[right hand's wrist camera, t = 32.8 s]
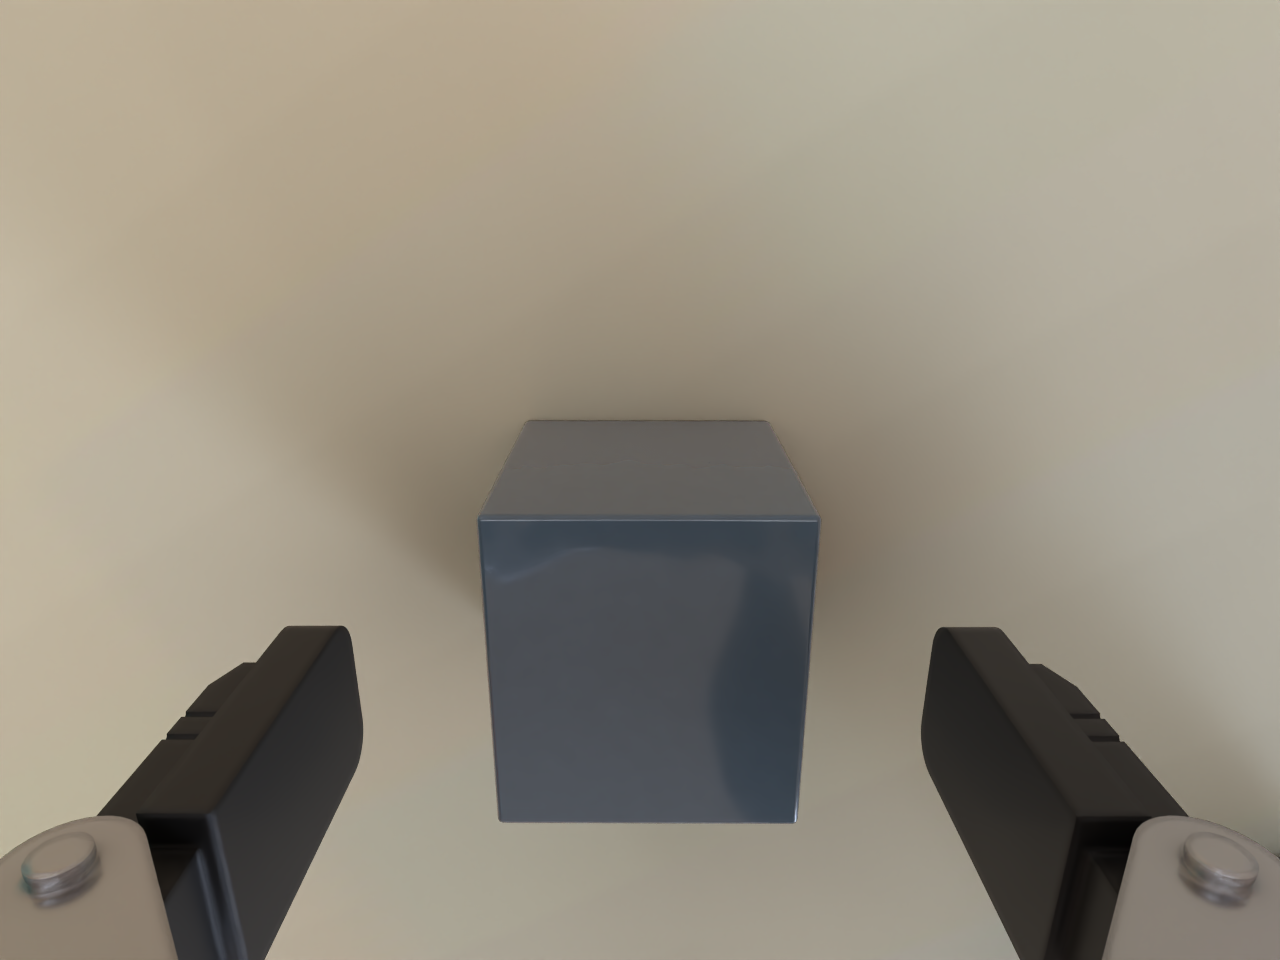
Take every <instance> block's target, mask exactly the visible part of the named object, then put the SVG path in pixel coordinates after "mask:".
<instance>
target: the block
mask: <svg viewBox="0 0 1280 960" xmlns="http://www.w3.org/2000/svg"><path fill="white" fill-rule="evenodd" d="M476 520H477V534H478V548H479V562H480V576H481V590H482V603H483V617H484V631H485V645H486V659H487V673H488V687H489V701H490V715H491V729H492V742H493V756H494V770H495V784H496V798H497V812H498V819H499V821H500V822H502V823H745V824H793V823H796V821H797V818H798V807H799V795H800V782H801V770H802V757H803V745H804V732H805V720H806V707H807V695H808V682H809V670H810V657H811V645H812V632H813V620H814V607H815V595H816V582H817V570H818V557H819V545H820V532H821V517H820V515H819V513H818V511H817V509H816V508H815V506H814V504H813V502H812V500H811V498H810V497H809V495H808V493H807V491H806V489H805V487H804V485H803V484H802V482H801V480H800V478H799V476H798V474H797V473H796V471H795V469H794V467H793V465H792V463H791V461H790V460H789V458H788V456H787V454H786V452H785V450H784V449H783V447H782V445H781V443H780V441H779V439H778V437H777V436H776V434H775V432H774V430H773V428H772V426H771V425H770V423H769V422H767V421H527V422H526V423H525V424H524V426H523V428H522V430H521V432H520V434H519V436H518V438H517V440H516V442H515V444H514V446H513V448H512V450H511V452H510V454H509V456H508V458H507V460H506V462H505V464H504V465H503V467H502V469H501V471H500V473H499V475H498V477H497V479H496V481H495V483H494V485H493V487H492V489H491V491H490V493H489V495H488V497H487V499H486V501H485V503H484V504H483V506H482V508H481V510H480V512H479V514H478V517H477V519H476Z"/></svg>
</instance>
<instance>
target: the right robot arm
mask: <svg viewBox="0 0 1280 960" xmlns="http://www.w3.org/2000/svg"><path fill="white" fill-rule="evenodd" d="M921 741H922V750H923V755H924V760H925V764H926V767H927V769H928V772H929V774H930V776H931V778H932V780H933V782H934V784H935V786H936V788H937V790H938V792H939V795H940V797H941V799H942V801H943V803H944V805H945V807H946V809H947V811H948V813H949V815H950V817H951V819H952V821H953V823H954V825H955V827H956V829H957V831H958V833H959V835H960V838H961V840H962V842H963V844H964V846H965V848H966V850H967V852H968V854H969V856H970V858H971V860H972V862H973V864H974V866H975V868H976V870H977V872H978V874H979V876H980V878H981V880H982V883H983V885H984V887H985V889H986V891H987V893H988V895H989V897H990V899H991V901H992V903H993V905H994V907H995V909H996V911H997V913H998V915H999V917H1000V919H1001V921H1002V923H1003V926H1004V928H1005V930H1006V932H1007V934H1008V936H1009V938H1010V940H1011V942H1012V944H1013V946H1014V948H1015V950H1016V952H1017V954H1018V956H1019V958H1020V960H1280V859H1279V858H1278V857H1277V856H1275V855H1274V854H1273V853H1271V852H1270V851H1269V850H1267V849H1266V848H1265V847H1263V846H1261V845H1260V844H1258V843H1257V842H1255V841H1253V840H1252V839H1250V838H1248V837H1246V836H1244V835H1242V834H1240V833H1238V832H1236V831H1234V830H1231V829H1229V828H1226V827H1224V826H1221V825H1218V824H1215V823H1212V822H1209V821H1206V820H1201V819H1197V818H1192V817H1189V816H1188V815H1187V814H1186V813H1185V812H1184V810H1183V809H1182V808H1181V807H1180V806H1179V805H1178V803H1177V802H1176V801H1175V800H1174V799H1173V798H1172V796H1171V795H1170V794H1169V793H1168V792H1167V791H1166V790H1165V788H1164V787H1163V786H1162V785H1161V784H1160V783H1159V781H1158V780H1157V779H1156V778H1155V777H1154V776H1153V774H1152V773H1151V772H1150V771H1149V770H1148V769H1147V768H1146V766H1145V765H1144V764H1143V763H1142V762H1141V761H1140V759H1139V758H1138V757H1137V756H1136V755H1135V754H1134V753H1133V751H1132V750H1131V749H1130V748H1129V747H1128V746H1127V744H1126V743H1125V742H1120V740H1119V735H1118V734H1117V733H1116V732H1115V731H1114V729H1113V728H1112V727H1111V726H1110V725H1109V724H1108V722H1107V721H1106V720H1105V719H1100V713H1099V712H1098V711H1097V710H1096V709H1095V707H1094V706H1093V705H1092V704H1091V703H1090V702H1089V700H1088V699H1087V698H1086V697H1085V696H1084V695H1083V694H1082V692H1081V691H1080V690H1079V689H1078V688H1077V687H1076V686H1075V685H1073V684H1072V683H1070V682H1068V681H1067V680H1065V679H1064V678H1062V677H1061V676H1059V675H1058V674H1056V673H1054V672H1053V671H1051V670H1050V669H1048V668H1047V667H1045V666H1044V665H1042V664H1029V663H1028V662H1027V661H1026V660H1025V658H1024V657H1023V656H1022V655H1021V653H1020V652H1019V651H1018V650H1017V648H1016V647H1015V646H1014V645H1013V643H1012V642H1011V641H1010V640H1009V638H1008V637H1007V636H1006V635H1005V634H1004V632H1003V631H1002V630H1001V629H999V628H996V627H942V628H940V629H938V631H937V632H936V634H935V637H934V640H933V645H932V652H931V659H930V666H929V673H928V680H927V687H926V694H925V701H924V709H923V716H922V724H921ZM362 742H363V720H362V712H361V705H360V698H359V691H358V683H357V676H356V669H355V662H354V655H353V647H352V641H351V637H350V634H349V632H348V630H347V628H345V627H344V626H287V627H285V628H284V629H283V630H282V631H281V632H280V633H279V634H278V636H277V637H276V638H275V639H274V641H273V642H272V643H271V644H270V646H269V647H268V648H267V650H266V651H265V652H264V653H263V655H262V656H261V657H260V658H259V660H258V661H257V662H256V663H242V664H241V665H239V666H238V667H236V668H234V669H233V670H231V671H230V672H228V673H227V674H225V675H224V676H222V677H221V678H219V679H217V680H216V681H214V682H213V683H211V684H210V685H208V686H207V688H206V689H205V690H204V691H203V692H202V693H201V695H200V696H199V697H198V698H197V699H196V700H195V702H194V703H193V704H192V705H191V706H190V707H189V709H188V710H187V711H186V716H185V717H181V718H180V719H179V720H178V721H177V723H176V724H175V725H174V726H173V727H172V729H171V730H170V731H169V732H168V733H167V738H166V740H161V741H160V743H159V744H158V745H157V746H156V747H155V748H154V750H153V751H152V752H151V753H150V754H149V755H148V757H147V758H146V759H145V760H144V761H143V762H142V764H141V765H140V766H139V767H138V768H137V769H136V771H135V772H134V773H133V774H132V775H131V776H130V778H129V779H128V780H127V781H126V782H125V783H124V785H123V786H122V787H121V788H120V789H119V790H118V792H117V793H116V794H115V795H114V796H113V797H112V799H111V800H110V801H109V802H108V803H107V804H106V806H105V807H104V808H103V809H102V810H101V811H100V813H99V814H98V815H97V816H95V817H88V818H83V819H79V820H74V821H71V822H68V823H65V824H62V825H59V826H56V827H54V828H51V829H49V830H46V831H44V832H42V833H40V834H38V835H36V836H34V837H32V838H30V839H28V840H27V841H25V842H23V843H22V844H20V845H19V846H17V847H15V848H14V849H13V850H11V851H10V852H9V853H7V854H6V855H5V856H3V857H2V858H1V859H0V960H265V957H266V955H267V953H268V951H269V949H270V947H271V945H272V943H273V941H274V939H275V937H276V935H277V933H278V931H279V928H280V926H281V924H282V922H283V920H284V918H285V916H286V914H287V912H288V910H289V908H290V906H291V904H292V902H293V899H294V897H295V895H296V893H297V891H298V889H299V887H300V885H301V883H302V881H303V879H304V877H305V875H306V873H307V870H308V868H309V866H310V864H311V862H312V860H313V858H314V856H315V854H316V852H317V850H318V848H319V846H320V844H321V841H322V839H323V837H324V835H325V833H326V831H327V829H328V827H329V825H330V823H331V821H332V819H333V817H334V815H335V812H336V810H337V808H338V806H339V804H340V802H341V800H342V798H343V796H344V794H345V792H346V790H347V788H348V785H349V783H350V781H351V779H352V777H353V775H354V773H355V771H356V768H357V766H358V763H359V759H360V755H361V750H362Z"/></svg>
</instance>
